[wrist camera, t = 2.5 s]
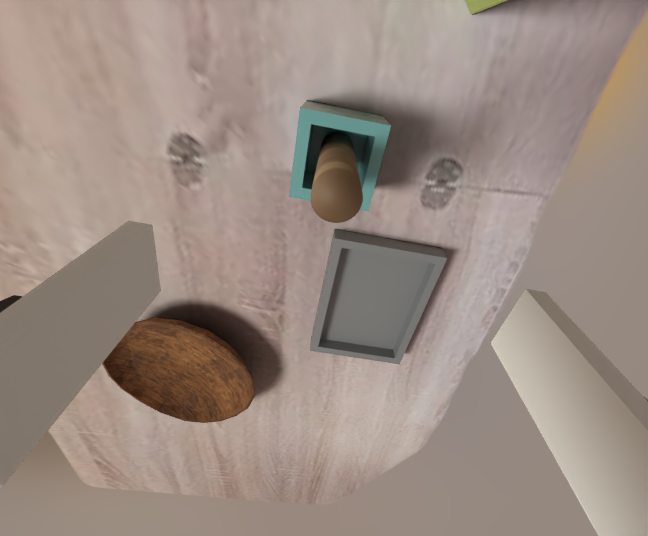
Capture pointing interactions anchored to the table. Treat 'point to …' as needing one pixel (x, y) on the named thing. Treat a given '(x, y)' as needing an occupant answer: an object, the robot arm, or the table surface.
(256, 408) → the table surface
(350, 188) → the dowel
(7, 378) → the robot arm
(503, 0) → the protein box
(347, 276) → the tray
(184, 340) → the bowl
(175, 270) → the table surface
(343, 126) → the teal square container
